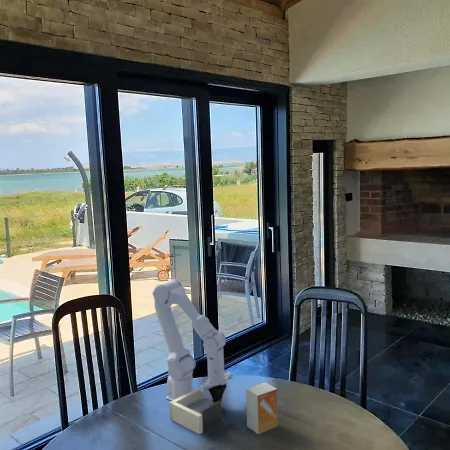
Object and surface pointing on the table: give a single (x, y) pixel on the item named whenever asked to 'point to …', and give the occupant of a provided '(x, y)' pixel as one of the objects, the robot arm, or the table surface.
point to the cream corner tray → (187, 411)
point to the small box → (261, 407)
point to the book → (200, 405)
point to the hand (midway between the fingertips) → (217, 404)
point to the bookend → (212, 418)
